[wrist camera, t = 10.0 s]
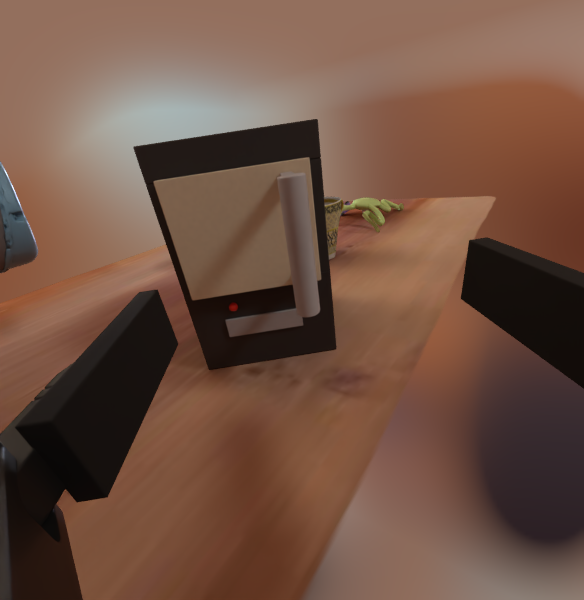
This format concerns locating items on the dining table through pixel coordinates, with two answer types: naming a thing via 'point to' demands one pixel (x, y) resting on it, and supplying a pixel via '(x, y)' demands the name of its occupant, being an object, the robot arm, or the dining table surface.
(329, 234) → the ceramic cup
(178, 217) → the chamber door
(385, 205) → the figurine
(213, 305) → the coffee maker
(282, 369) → the dining table surface
